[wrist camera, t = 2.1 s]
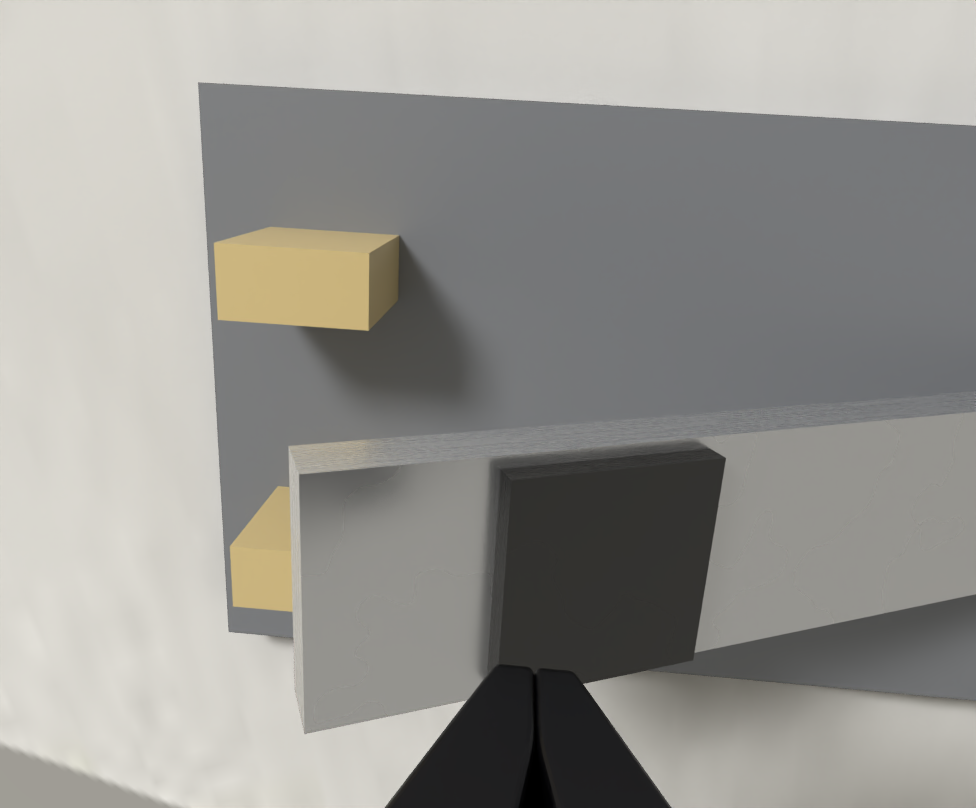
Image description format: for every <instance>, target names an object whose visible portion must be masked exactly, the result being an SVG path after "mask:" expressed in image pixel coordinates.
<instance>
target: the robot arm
mask: <svg viewBox="0 0 976 808" xmlns="http://www.w3.org/2000/svg"><path fill="white" fill-rule="evenodd" d="M385 808H671V807H670V805H669V804H668V802H667V801H666V800H665V798H664V797H663V795H662V794H661V793H660V791H659V790H658V788H657V787H656V786H655V784H654V783H653V781H652V780H651V779H650V777H649V776H648V774H647V773H646V772H645V770H644V769H643V767H642V766H641V765H640V763H639V762H638V760H637V759H636V758H635V756H634V755H633V753H632V752H631V751H630V749H629V748H628V746H627V745H626V744H625V742H624V741H623V739H622V738H621V737H620V735H619V734H618V732H617V731H616V730H615V728H614V727H613V725H612V724H611V723H610V721H609V720H608V718H607V717H606V716H605V714H604V713H603V711H602V710H601V709H600V707H599V706H598V704H597V703H596V702H595V700H594V699H593V697H592V696H591V695H590V693H589V692H588V690H587V689H586V688H585V686H584V685H583V683H582V682H581V681H580V679H579V678H578V676H577V675H576V674H575V673H573V672H572V671H568V670H558V669H547V668H539V669H537V670H536V671H535V674H534V672H533V670H532V669H531V668H530V667H526V666H516V665H506V664H497V665H495V666H494V667H493V668H492V669H491V670H490V672H489V673H488V674H487V675H486V677H485V678H484V679H483V681H482V682H481V683H480V685H479V686H478V687H477V688H476V690H475V691H474V692H473V694H472V695H471V696H470V698H469V699H468V700H467V701H466V703H465V704H464V705H463V707H462V708H461V709H460V711H459V712H458V713H457V714H456V716H455V717H454V718H453V720H452V721H451V722H450V723H449V725H448V726H447V727H446V729H445V730H444V731H443V733H442V734H441V735H440V736H439V738H438V739H437V740H436V742H435V743H434V744H433V746H432V747H431V748H430V749H429V751H428V752H427V753H426V755H425V756H424V757H423V759H422V760H421V761H420V762H419V764H418V765H417V766H416V768H415V769H414V770H413V772H412V773H411V774H410V775H409V777H408V778H407V779H406V781H405V782H404V783H403V785H402V786H401V787H400V788H399V790H398V791H397V792H396V794H395V795H394V796H393V798H392V799H391V800H390V801H389V803H388V804H387V805H386V807H385Z"/></svg>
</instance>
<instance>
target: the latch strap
mask: <svg viewBox="0 0 976 808" xmlns="http://www.w3.org/2000/svg"><path fill="white" fill-rule="evenodd" d="M288 448H289V488H290V527H291V566H292V605H293V644H294V683H295V693H296V698H297V702H298V707H299V711H300V716H301V720H302V725H303V730H304V734H307V733H312V732H316V731H321V730H326V729H331V728H336V727H340V726H345V725H350V724H355V723H360V722H364V721H369V720H374V719H379V718H384V717H388V716H393V715H398V714H403V713H408V712H412V711H417V710H422V709H427V708H432V707H436V706H441V705H446V704H451V703H456V702H460V701H465V700H468V699H469V698H470V696H471V695H472V694H473V692H474V691H475V690H476V688H477V687H478V686H479V685H480V683H481V682H482V681H483V679H484V678H485V677H486V675H487V674H488V673H489V672H490V670H491V669H492V668H493V667H494V666H495V665H497V664H506V665H516V666H526V667H530V668H531V669H532V670H533V672H534V674H535V671H536V670H537V669H539V668H547V669H558V670H568V671H572V672H573V673H575V674H576V675H577V676H578V678H579V679H580V681H581V682H582V683H583V684H584V683H589V682H594V681H598V680H603V679H608V678H613V677H617V676H622V675H627V674H631V673H636V672H641V671H646V670H650V669H655V668H660V667H664V666H669V665H674V664H679V663H683V662H688V661H693V659H694V653H696V652H701V651H705V650H710V649H715V648H720V647H725V646H729V645H734V644H739V643H744V642H749V641H754V640H758V639H763V638H768V637H773V636H778V635H782V634H787V633H792V632H797V631H802V630H806V629H811V628H816V627H821V626H826V625H830V624H835V623H840V622H845V621H850V620H854V619H859V618H864V617H869V616H874V615H878V614H883V613H888V612H893V611H898V610H902V609H907V608H912V607H917V606H922V605H926V604H931V603H936V602H941V601H946V600H950V599H955V598H960V597H965V596H970V595H975V594H976V391H973V392H961V393H948V394H936V395H923V396H910V397H898V398H885V399H873V400H860V401H848V402H835V403H822V404H810V405H797V406H785V407H772V408H760V409H747V410H734V411H722V412H709V413H697V414H684V415H672V416H659V417H646V418H634V419H621V420H609V421H596V422H583V423H571V424H558V425H546V426H533V427H521V428H508V429H495V430H483V431H470V432H458V433H445V434H433V435H420V436H407V437H395V438H382V439H370V440H357V441H345V442H332V443H319V444H307V445H294V446H288Z"/></svg>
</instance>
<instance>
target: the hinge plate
mask: <svg viewBox="0 0 976 808" xmlns="http://www.w3.org/2000/svg"><path fill="white" fill-rule="evenodd" d="M198 88H199V106H200V124H201V142H202V160H203V178H204V196H205V214H206V232H207V250H208V268H209V286H210V304H211V322H212V340H213V358H214V376H215V394H216V412H217V430H218V448H219V466H220V484H221V502H222V520H223V538H224V556H225V574H226V592H227V610H228V628H229V632H235V633H246V634H257V635H268V636H279V637H290V638H293V605H292V566H291V527H290V488H289V448H288V446H294V445H307V444H319V443H332V442H345V441H357V440H370V439H382V438H395V437H407V436H420V435H433V434H445V433H458V432H470V431H483V430H495V429H508V428H521V427H533V426H546V425H558V424H571V423H583V422H596V421H609V420H621V419H634V418H646V417H659V416H672V415H684V414H697V413H709V412H722V411H734V410H747V409H760V408H772V407H785V406H797V405H810V404H822V403H835V402H848V401H860V400H873V399H885V398H898V397H910V396H923V395H936V394H948V393H961V392H973V391H976V126H968V125H950V124H932V123H914V122H896V121H878V120H861V119H843V118H825V117H807V116H789V115H771V114H753V113H735V112H717V111H699V110H682V109H664V108H646V107H628V106H610V105H592V104H574V103H556V102H538V101H520V100H502V99H485V98H467V97H449V96H431V95H413V94H395V93H377V92H359V91H341V90H323V89H305V88H288V87H270V86H252V85H234V84H216V83H198ZM649 671H660V672H670V673H681V674H692V675H703V676H714V677H725V678H736V679H747V680H758V681H768V682H779V683H790V684H801V685H812V686H823V687H834V688H845V689H855V690H866V691H877V692H888V693H899V694H910V695H921V696H932V697H943V698H953V699H964V700H975V701H976V594H975V595H970V596H965V597H960V598H955V599H950V600H946V601H941V602H936V603H931V604H926V605H922V606H917V607H912V608H907V609H902V610H898V611H893V612H888V613H883V614H878V615H874V616H869V617H864V618H859V619H854V620H850V621H845V622H840V623H835V624H830V625H826V626H821V627H816V628H811V629H806V630H802V631H797V632H792V633H787V634H782V635H778V636H773V637H768V638H763V639H758V640H754V641H749V642H744V643H739V644H734V645H729V646H725V647H720V648H715V649H710V650H705V651H701V652H696V653H694V659H693V661H688V662H683V663H679V664H674V665H669V666H664V667H660V668H655V669H650V670H649Z"/></svg>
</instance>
